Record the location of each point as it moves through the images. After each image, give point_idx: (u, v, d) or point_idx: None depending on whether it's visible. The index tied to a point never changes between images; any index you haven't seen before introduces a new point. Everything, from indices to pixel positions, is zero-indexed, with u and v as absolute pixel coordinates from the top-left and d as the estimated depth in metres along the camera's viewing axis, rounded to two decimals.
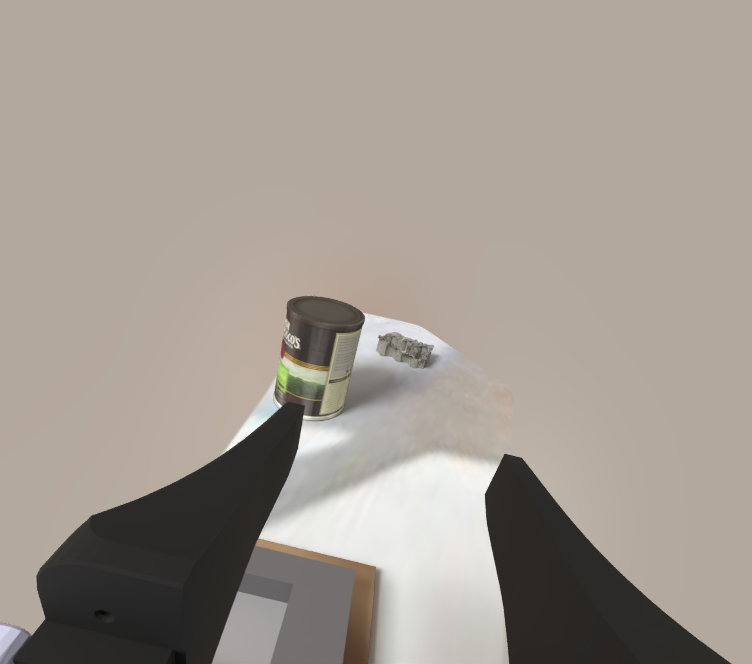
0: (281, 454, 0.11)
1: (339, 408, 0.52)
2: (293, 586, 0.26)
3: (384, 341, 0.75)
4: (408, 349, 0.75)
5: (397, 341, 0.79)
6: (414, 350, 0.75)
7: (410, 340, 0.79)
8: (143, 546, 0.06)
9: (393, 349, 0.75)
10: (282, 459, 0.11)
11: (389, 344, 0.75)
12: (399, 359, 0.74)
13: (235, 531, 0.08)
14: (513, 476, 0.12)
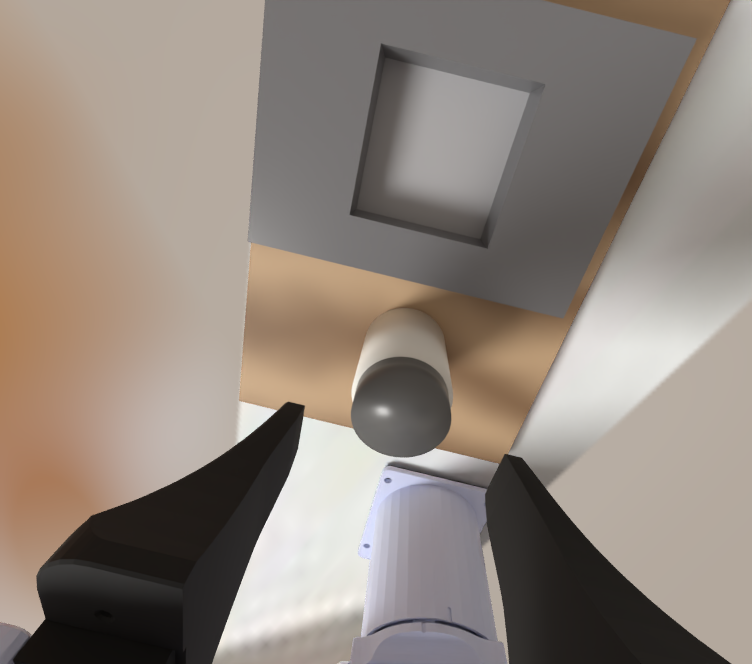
0: (281, 454, 0.11)
1: None
2: (545, 88, 0.13)
3: None
4: None
5: None
6: None
7: None
8: (143, 546, 0.06)
9: None
10: (282, 459, 0.11)
11: None
12: None
13: (235, 531, 0.08)
14: (513, 476, 0.12)
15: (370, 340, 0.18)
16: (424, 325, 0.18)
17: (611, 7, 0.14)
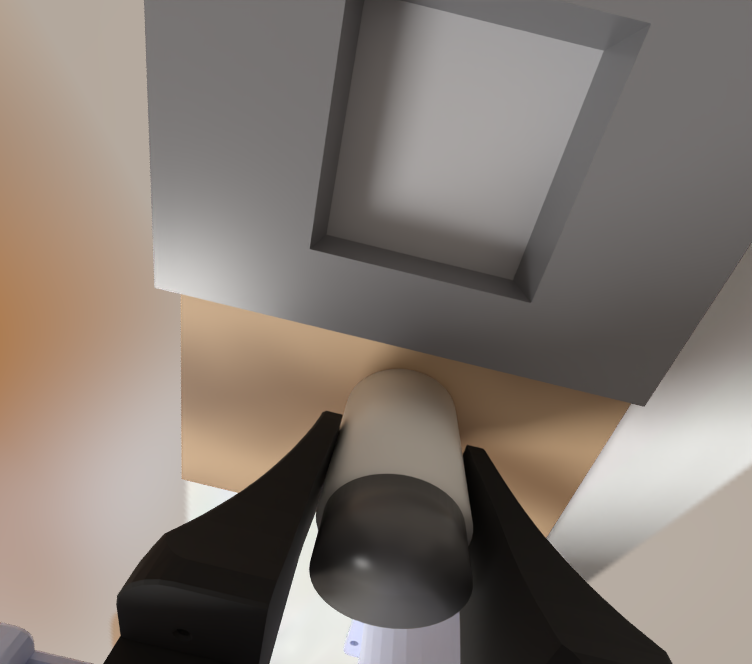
0: (325, 465, 0.11)
1: None
2: (649, 31, 0.07)
3: None
4: None
5: None
6: None
7: None
8: (223, 565, 0.06)
9: None
10: (324, 469, 0.11)
11: None
12: None
13: (295, 545, 0.08)
14: (472, 466, 0.12)
15: (348, 426, 0.12)
16: (428, 401, 0.13)
17: None
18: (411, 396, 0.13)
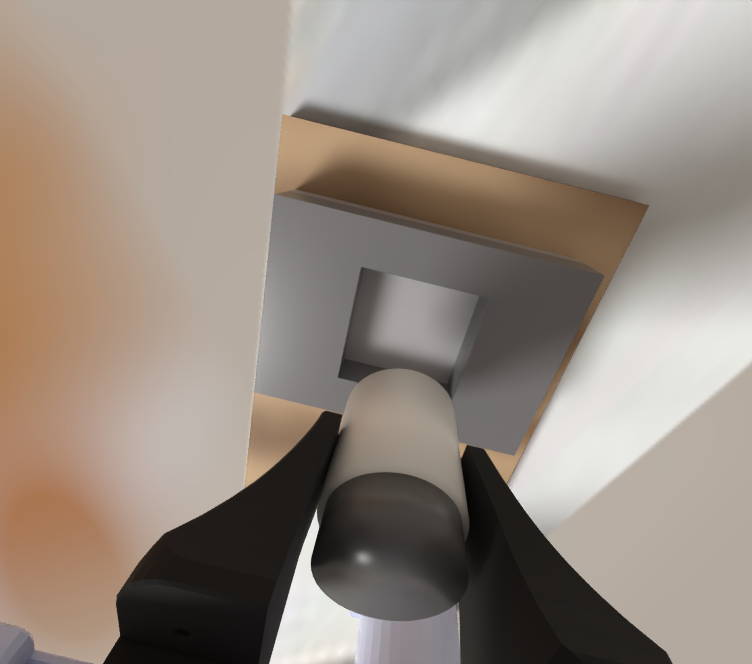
0: (324, 464, 0.11)
1: None
2: (490, 301, 0.17)
3: None
4: None
5: None
6: None
7: None
8: (222, 565, 0.06)
9: None
10: (324, 469, 0.11)
11: None
12: None
13: (295, 545, 0.08)
14: (472, 466, 0.12)
15: (348, 425, 0.13)
16: (426, 401, 0.13)
17: (547, 222, 0.18)
18: (409, 395, 0.13)
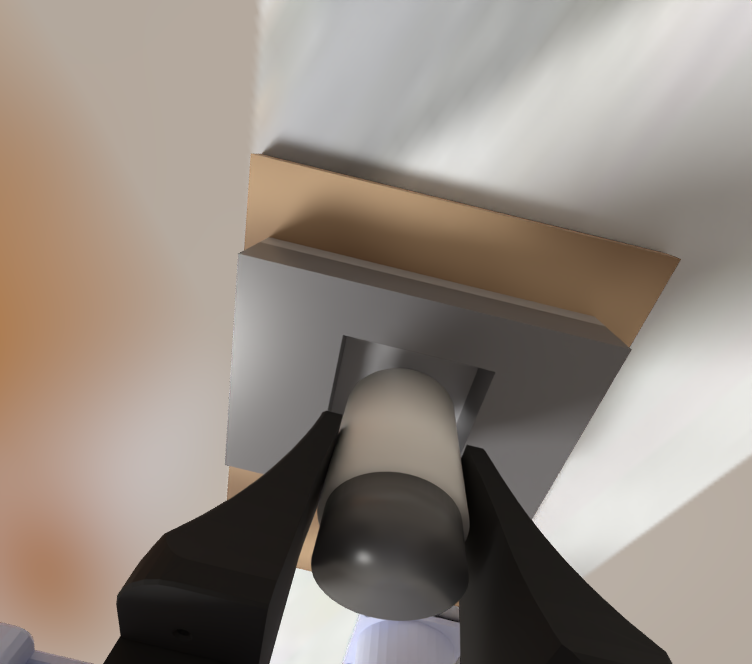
0: (325, 465, 0.11)
1: None
2: (495, 374, 0.14)
3: None
4: None
5: None
6: None
7: None
8: (222, 565, 0.06)
9: None
10: (324, 469, 0.11)
11: None
12: None
13: (295, 545, 0.08)
14: (472, 466, 0.12)
15: (348, 425, 0.13)
16: (426, 400, 0.13)
17: (561, 276, 0.15)
18: (409, 395, 0.13)
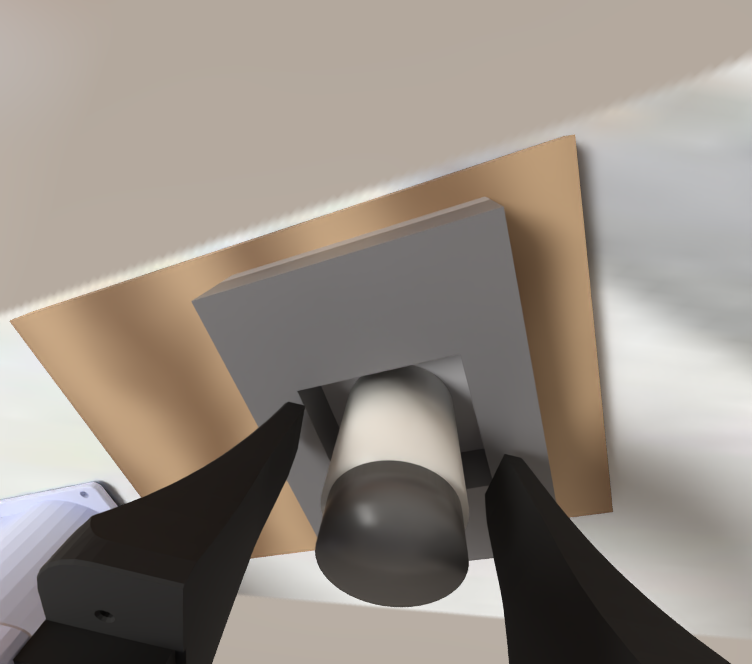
0: (281, 454, 0.11)
1: None
2: None
3: None
4: None
5: None
6: None
7: None
8: (143, 546, 0.06)
9: None
10: (282, 459, 0.11)
11: None
12: None
13: (235, 531, 0.08)
14: (513, 476, 0.12)
15: (350, 418, 0.13)
16: (426, 394, 0.13)
17: (565, 454, 0.17)
18: (409, 389, 0.13)
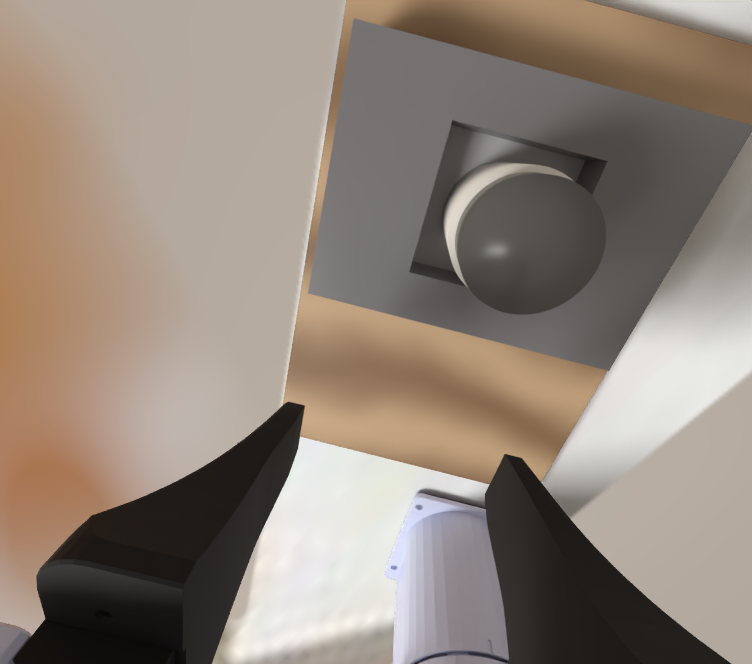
0: (281, 454, 0.11)
1: None
2: (607, 164, 0.14)
3: None
4: None
5: None
6: None
7: None
8: (143, 546, 0.06)
9: None
10: (282, 459, 0.11)
11: None
12: None
13: (235, 531, 0.08)
14: (513, 476, 0.12)
15: None
16: (473, 173, 0.14)
17: (666, 82, 0.15)
18: (460, 185, 0.15)
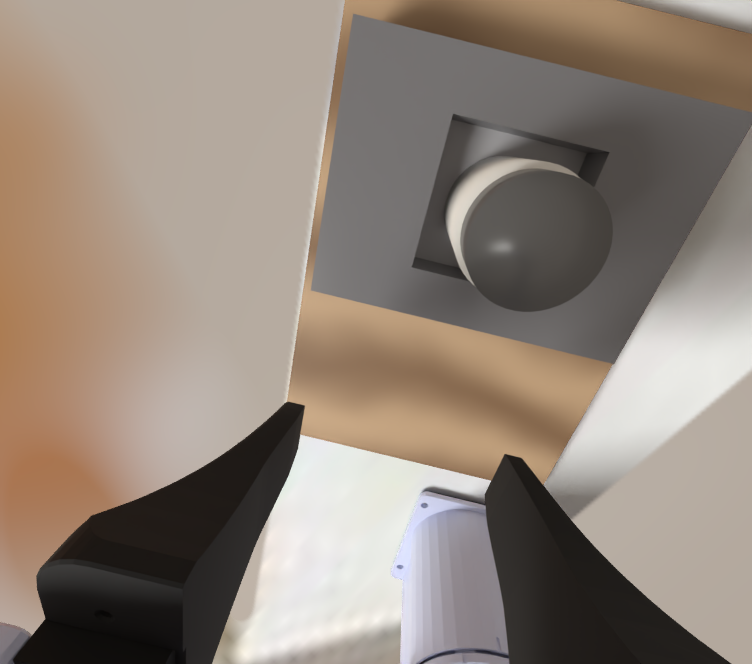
0: (281, 454, 0.11)
1: None
2: (609, 155, 0.14)
3: None
4: None
5: None
6: None
7: None
8: (143, 546, 0.06)
9: None
10: (282, 459, 0.11)
11: None
12: None
13: (235, 531, 0.08)
14: (513, 476, 0.12)
15: None
16: (473, 170, 0.14)
17: (667, 73, 0.15)
18: (461, 182, 0.15)
